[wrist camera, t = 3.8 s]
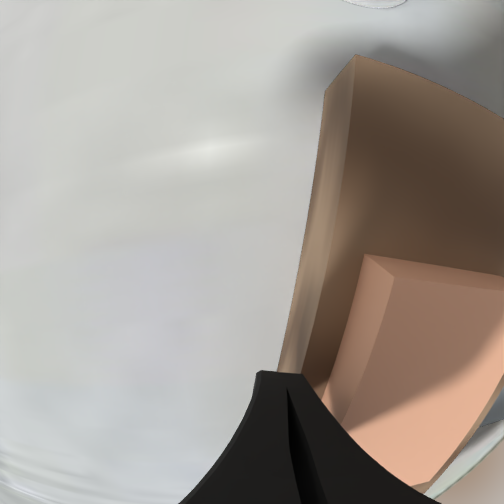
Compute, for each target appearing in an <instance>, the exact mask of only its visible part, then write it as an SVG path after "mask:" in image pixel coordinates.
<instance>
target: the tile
mask: <svg viewBox="0 0 504 504" xmlns="http://www.w3.org/2000/svg"><path fill="white" fill-rule="evenodd" d="M503 374H504V277H502V276H497V275H492V274H486V273H480V272H474V271H468V270H462V269H456V268H450V267H444V266H438V265H432V264H426V263H420V262H414V261H407V260H401V259H395V258H388V257H382V256H375V255H369V254H364V257H363V262H362V266H361V270H360V275H359V279H358V283H357V287H356V291H355V295H354V299H353V302H352V306H351V310H350V313H349V317H348V321H347V324H346V328H345V331H344V334H343V338H342V341H341V344H340V347H339V351H338V354H337V357H336V360H335V363H334V366H333V369H332V372H331V375H330V378H329V381H328V384H327V387H326V389H325V392H324V395H323V398H322V400H321V401H322V402H323V403H324V405H325V406H326V407H327V409H328V410H329V411H330V412H331V414H332V415H333V416H334V417H335V419H336V420H337V421H338V422H339V424H340V425H341V426H342V427H343V428H344V430H345V431H346V432H347V433H348V434H349V435H350V436H351V437H352V438H353V439H354V441H355V442H356V443H357V444H358V445H359V446H360V447H361V448H362V449H363V450H364V451H365V452H366V453H368V454H369V455H370V456H371V457H372V458H373V459H374V460H376V461H377V462H378V463H379V464H380V465H381V466H383V467H384V468H385V469H386V470H387V471H389V472H390V473H391V474H393V475H394V476H395V477H397V478H398V479H400V480H401V481H403V482H404V483H406V484H407V485H409V486H413V485H417V484H421V483H425V482H428V481H430V480H431V479H432V477H433V476H434V475H435V474H436V473H437V472H438V471H439V469H440V468H441V467H442V466H443V465H444V463H445V462H446V461H447V460H448V458H449V457H450V456H451V455H452V453H453V452H454V451H455V450H456V448H457V447H458V446H459V444H460V443H461V442H462V440H463V439H464V437H465V436H466V435H467V433H468V432H469V430H470V429H471V427H472V426H473V424H474V423H475V421H476V420H477V418H478V417H479V415H480V414H481V412H482V411H483V409H484V407H485V406H486V404H487V402H488V401H489V399H490V397H491V396H492V394H493V392H494V390H495V389H496V387H497V385H498V383H499V381H500V379H501V377H502V376H503Z"/></svg>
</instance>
